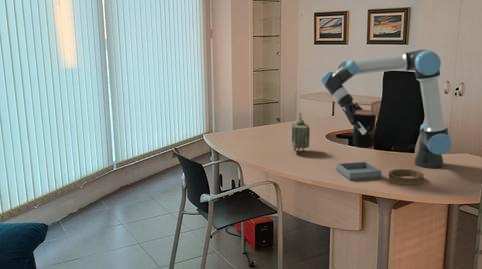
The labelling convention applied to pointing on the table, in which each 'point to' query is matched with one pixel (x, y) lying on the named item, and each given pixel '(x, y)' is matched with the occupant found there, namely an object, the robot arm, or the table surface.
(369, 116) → the coffee jar
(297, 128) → the green lantern
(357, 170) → the tray
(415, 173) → the ring guard
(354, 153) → the table surface
